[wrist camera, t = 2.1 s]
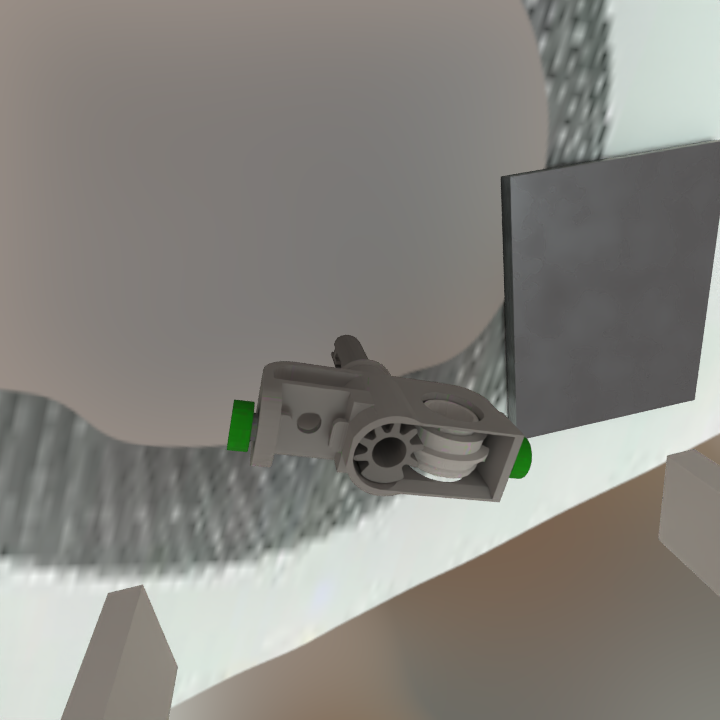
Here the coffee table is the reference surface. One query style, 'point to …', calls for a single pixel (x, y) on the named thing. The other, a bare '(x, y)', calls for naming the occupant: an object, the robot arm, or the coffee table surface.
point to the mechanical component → (381, 428)
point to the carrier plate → (607, 284)
